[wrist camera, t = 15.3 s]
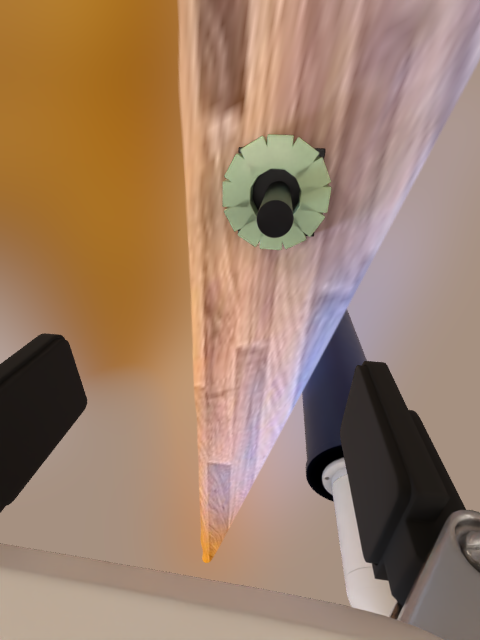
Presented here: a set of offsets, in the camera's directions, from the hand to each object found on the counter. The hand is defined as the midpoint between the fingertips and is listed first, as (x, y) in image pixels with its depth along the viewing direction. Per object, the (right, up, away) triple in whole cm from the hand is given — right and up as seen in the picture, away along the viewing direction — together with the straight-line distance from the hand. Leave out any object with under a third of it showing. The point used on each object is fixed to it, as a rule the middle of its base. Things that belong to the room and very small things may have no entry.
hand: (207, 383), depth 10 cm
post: (+5, +15, +21) cm, 26 cm away
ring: (+5, +15, +20) cm, 25 cm away
